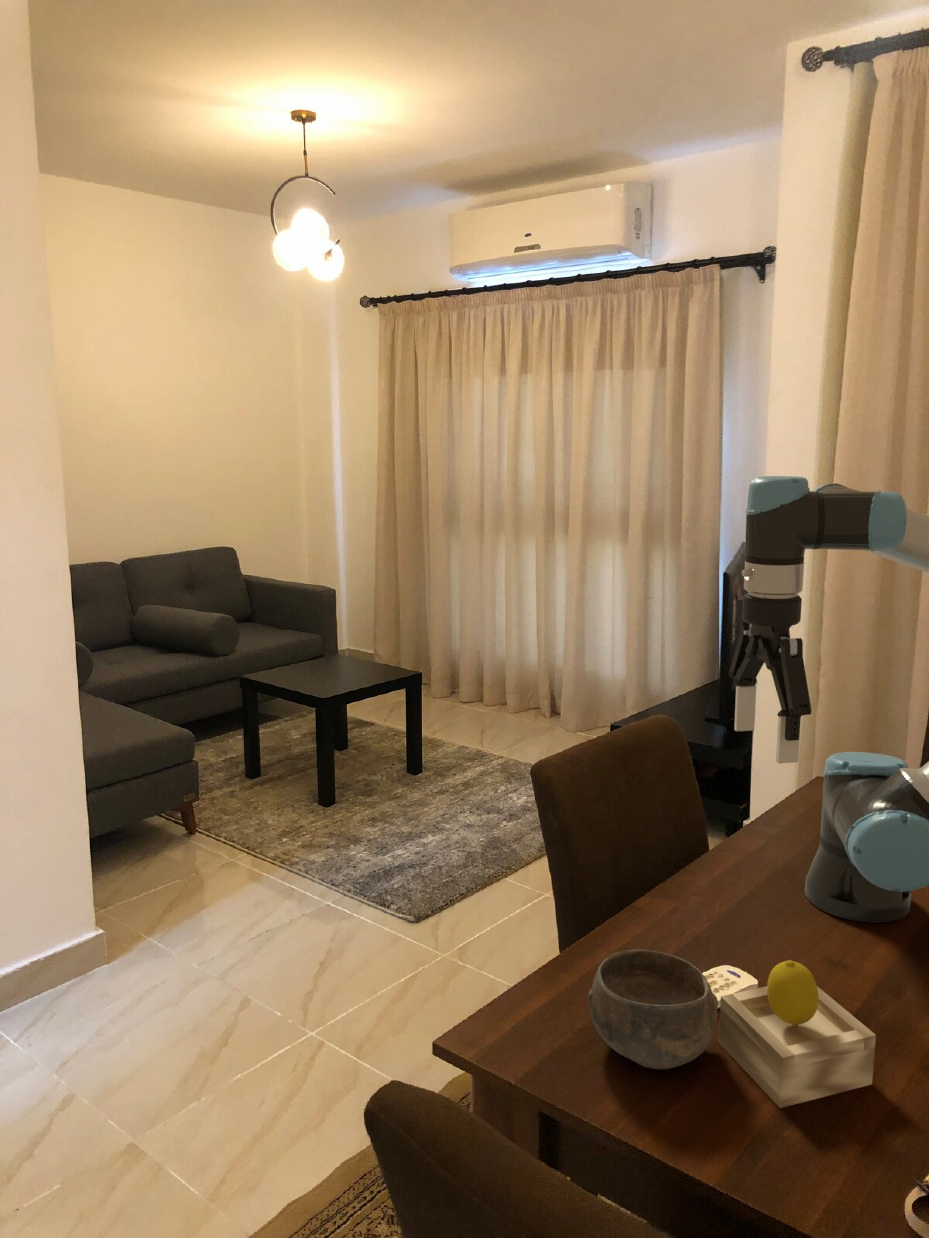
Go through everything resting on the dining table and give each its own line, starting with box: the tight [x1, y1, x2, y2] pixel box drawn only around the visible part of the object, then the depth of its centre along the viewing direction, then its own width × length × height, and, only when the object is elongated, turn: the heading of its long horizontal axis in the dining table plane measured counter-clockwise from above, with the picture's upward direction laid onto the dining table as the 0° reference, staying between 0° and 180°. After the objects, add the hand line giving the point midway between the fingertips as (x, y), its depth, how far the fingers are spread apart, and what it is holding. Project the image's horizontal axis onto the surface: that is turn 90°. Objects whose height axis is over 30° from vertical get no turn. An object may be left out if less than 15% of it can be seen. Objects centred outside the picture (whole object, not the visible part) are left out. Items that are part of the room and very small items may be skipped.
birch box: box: [718, 985, 877, 1109], centre depth 112 cm, size 12×12×6 cm
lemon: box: [766, 959, 818, 1026], centre depth 111 cm, size 6×6×8 cm
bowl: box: [587, 949, 719, 1070], centre depth 114 cm, size 14×15×10 cm
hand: (764, 745), depth 134 cm, fingers open, 13 cm apart
